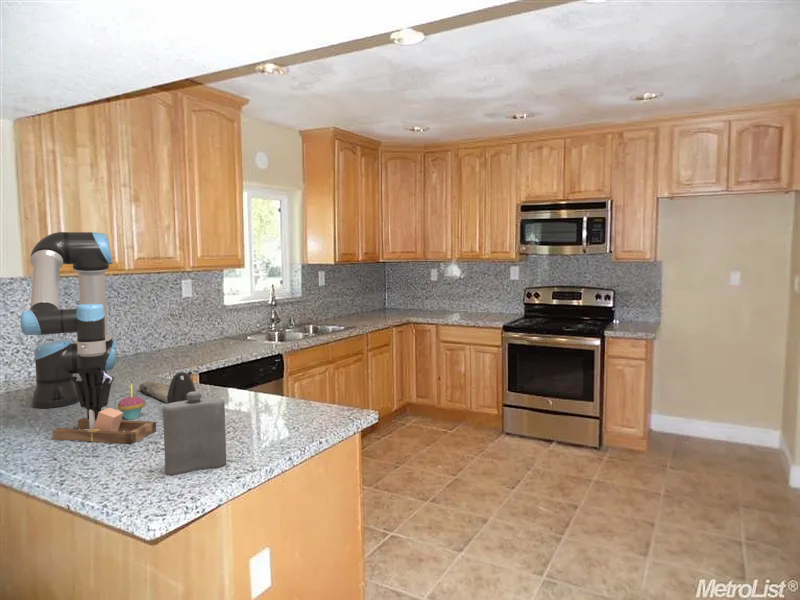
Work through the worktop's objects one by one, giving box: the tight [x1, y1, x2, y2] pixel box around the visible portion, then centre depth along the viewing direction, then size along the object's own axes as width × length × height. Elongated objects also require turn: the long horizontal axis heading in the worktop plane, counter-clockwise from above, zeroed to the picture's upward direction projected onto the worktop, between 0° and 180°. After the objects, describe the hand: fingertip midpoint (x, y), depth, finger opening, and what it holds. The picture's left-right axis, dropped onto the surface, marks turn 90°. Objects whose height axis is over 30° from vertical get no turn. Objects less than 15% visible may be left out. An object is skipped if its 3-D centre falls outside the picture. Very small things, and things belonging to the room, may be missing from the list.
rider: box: [94, 407, 123, 431], centre depth 164 cm, size 5×5×7 cm
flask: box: [162, 390, 227, 476], centre depth 139 cm, size 15×6×20 cm, turn 115°
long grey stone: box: [139, 381, 170, 404], centre depth 209 cm, size 35×5×10 cm
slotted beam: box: [52, 417, 157, 445], centre depth 164 cm, size 12×26×3 cm, turn 81°
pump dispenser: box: [166, 371, 197, 404], centre depth 184 cm, size 10×10×15 cm
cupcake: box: [117, 381, 146, 420], centre depth 182 cm, size 9×8×12 cm
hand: (94, 429), depth 164 cm, fingers closed
